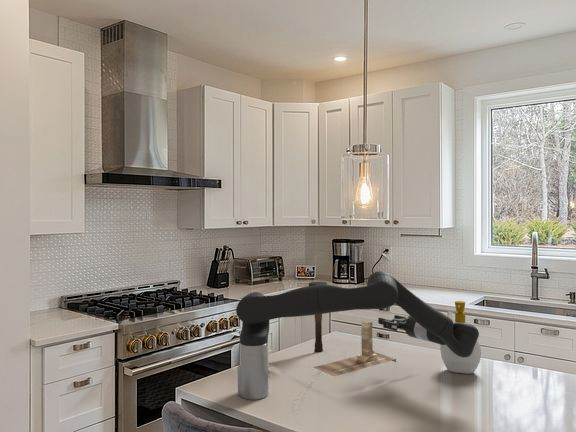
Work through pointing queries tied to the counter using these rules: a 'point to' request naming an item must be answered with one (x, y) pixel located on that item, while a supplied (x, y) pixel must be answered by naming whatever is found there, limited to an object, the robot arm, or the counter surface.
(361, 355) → the tan upright block
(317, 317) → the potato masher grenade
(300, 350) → the counter surface
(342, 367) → the board
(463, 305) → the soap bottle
